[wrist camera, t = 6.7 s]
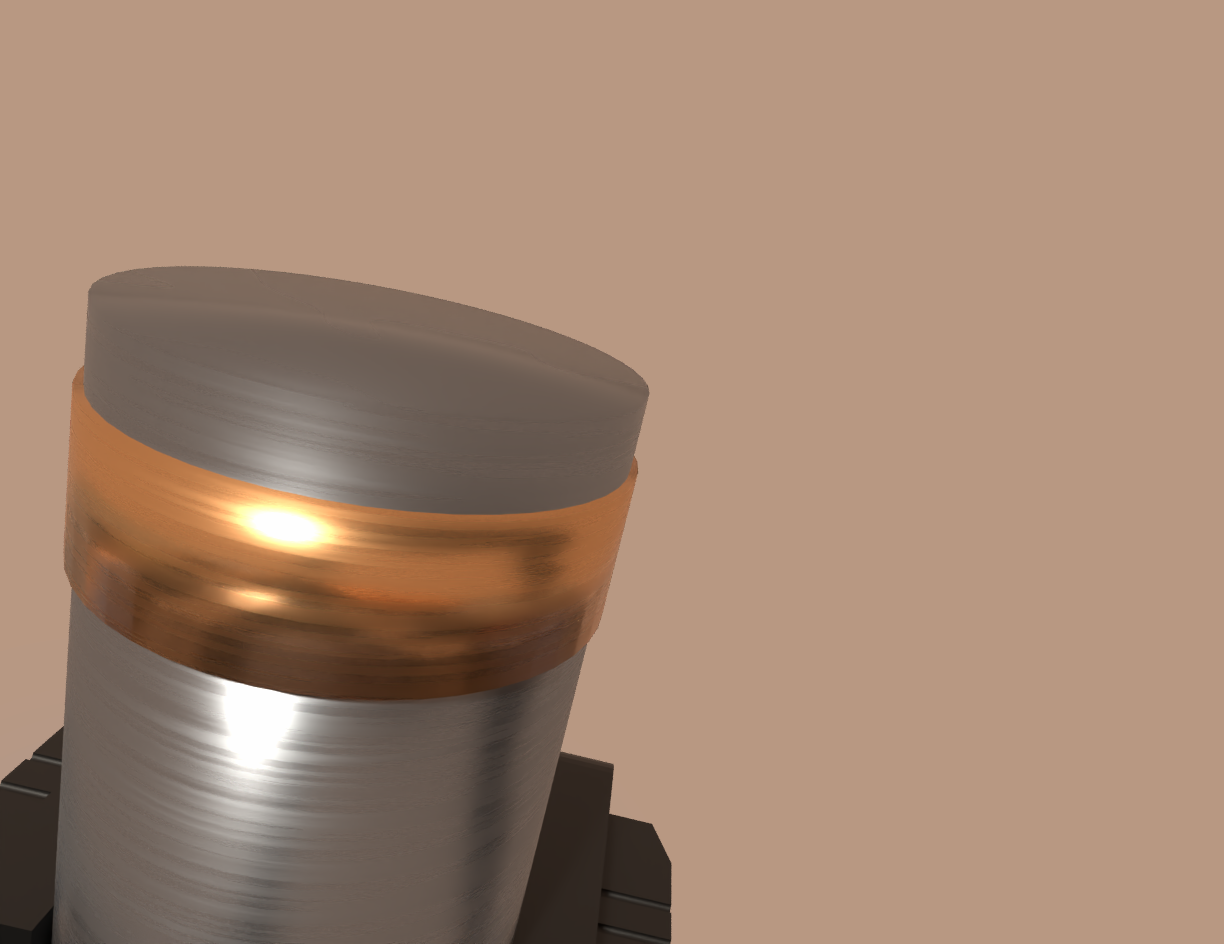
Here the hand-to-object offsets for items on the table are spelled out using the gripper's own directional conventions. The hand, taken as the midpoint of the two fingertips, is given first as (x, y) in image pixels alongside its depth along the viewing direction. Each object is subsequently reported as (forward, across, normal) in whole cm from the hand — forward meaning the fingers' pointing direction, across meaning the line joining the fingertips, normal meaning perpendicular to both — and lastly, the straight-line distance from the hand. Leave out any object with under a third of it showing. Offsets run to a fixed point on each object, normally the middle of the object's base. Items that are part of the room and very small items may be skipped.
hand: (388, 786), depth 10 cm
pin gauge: (-3, 0, +8) cm, 9 cm away
